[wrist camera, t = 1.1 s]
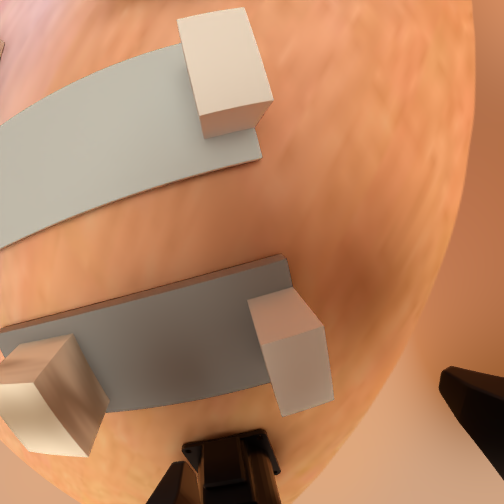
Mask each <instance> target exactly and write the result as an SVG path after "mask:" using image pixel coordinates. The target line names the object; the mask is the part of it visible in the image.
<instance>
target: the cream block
mask: <svg viewBox="0 0 504 504" xmlns="http://www.w3.org/2000/svg"><path fill="white" fill-rule="evenodd" d="M109 402H110V400H109V398H108V397H107V395H106V393H105V392H104V390H103V388H102V387H101V385H100V383H99V382H98V380H97V378H96V377H95V375H94V373H93V371H92V369H91V368H90V366H89V364H88V362H87V360H86V358H85V357H84V355H83V353H82V351H81V349H80V347H79V345H78V343H77V341H76V339H75V337H74V335H73V333H72V334H68V335H63V336H58V337H53V338H48V339H43V340H38V341H33V342H28V343H23V344H19V345H18V346H17V347H16V348H15V349H14V350H13V351H12V352H11V353H10V354H9V355H8V356H7V357H6V358H5V359H4V360H3V361H2V362H1V363H0V416H1V417H2V419H3V420H4V421H5V423H6V424H7V425H8V427H9V428H10V429H11V431H12V432H13V433H14V434H15V436H16V437H17V438H18V439H19V440H20V442H21V443H22V444H23V445H24V446H25V448H26V449H27V450H28V451H29V452H36V453H44V454H52V455H63V456H76V457H89V454H90V452H91V449H92V446H93V443H94V441H95V438H96V435H97V433H98V430H99V427H100V425H101V422H102V419H103V417H104V414H105V412H106V409H107V407H108V404H109Z"/></svg>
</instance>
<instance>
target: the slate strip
mask: <svg viewBox="0 0 504 504" xmlns="http://www.w3.org/2000/svg"><path fill="white" fill-rule="evenodd" d="M177 24H178V29H179V34H180V39H181V43H179V44H176V45H172V46H168V47H165V48H161V49H158V50H155V51H151V52H148V53H145V54H142V55H139V56H136V57H133V58H130V59H128V60H125V61H122V62H120V63H117V64H114V65H112V66H109V67H107V68H104V69H102V70H100V71H97V72H95V73H93V74H91V75H88V76H86V77H84V78H82V79H80V80H78V81H75V82H73V83H71V84H69V85H67V86H65V87H63V88H61V89H60V90H58V91H56V92H54V93H52V94H50V95H48V96H47V97H45V98H43V99H41V100H40V101H38V102H36V103H35V104H33V105H31V106H30V107H28V108H26V109H25V110H23V111H22V112H20V113H18V114H17V115H15V116H14V117H12V118H11V119H9V120H8V121H6V122H5V123H4V124H2V125H1V126H0V250H1V249H3V248H5V247H7V246H9V245H11V244H13V243H16V242H18V241H20V240H22V239H24V238H26V237H28V236H31V235H33V234H35V233H37V232H40V231H42V230H44V229H47V228H49V227H51V226H54V225H56V224H58V223H61V222H63V221H66V220H68V219H71V218H73V217H76V216H78V215H81V214H83V213H86V212H89V211H91V210H94V209H97V208H99V207H102V206H105V205H107V204H110V203H113V202H116V201H119V200H122V199H124V198H127V197H130V196H133V195H136V194H139V193H142V192H145V191H148V190H151V189H155V188H158V187H161V186H164V185H167V184H171V183H174V182H177V181H181V180H184V179H188V178H191V177H195V176H198V175H202V174H205V173H209V172H213V171H217V170H220V169H224V168H228V167H232V166H236V165H240V164H244V163H248V162H253V161H257V160H260V159H261V158H262V154H261V150H260V146H259V142H258V138H257V134H256V131H255V126H256V125H257V123H258V122H259V120H260V119H261V118H262V116H263V115H264V113H265V112H266V110H267V109H268V107H269V106H270V105H271V103H272V102H273V100H274V99H273V96H272V92H271V89H270V85H269V82H268V79H267V75H266V72H265V69H264V65H263V62H262V59H261V56H260V53H259V50H258V47H257V43H256V40H255V37H254V34H253V31H252V28H251V25H250V23H249V20H248V17H247V14H246V11H245V8H244V7H242V8H234V9H227V10H221V11H215V12H209V13H204V14H199V15H194V16H190V17H186V18H181V19H177Z"/></svg>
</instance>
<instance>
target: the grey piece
mask: <svg viewBox="0 0 504 504" xmlns="http://www.w3.org/2000/svg"><path fill="white" fill-rule="evenodd" d="M72 333H73V335H74V337H75V339H76V341H77V343H78V345H79V347H80V349H81V351H82V353H83V355H84V357H85V358H86V360H87V362H88V364H89V366H90V368H91V369H92V371H93V373H94V375H95V377H96V378H97V380H98V382H99V383H100V385H101V387H102V388H103V390H104V392H105V393H106V395H107V397H108V398H109V400H110V402H109V404H108V407H107V409H106V412H105V413H109V412H120V411H129V410H138V409H146V408H153V407H160V406H166V405H173V404H178V403H184V402H190V401H195V400H200V399H205V398H210V397H214V396H219V395H223V394H228V393H232V392H236V391H240V390H244V389H248V388H252V387H256V386H259V385H263V384H267V383H270V382H271V384H272V387H273V390H274V393H275V397H276V400H277V403H278V406H279V409H280V412H281V416H282V417H284V416H288V415H291V414H294V413H297V412H301V411H304V410H307V409H310V408H313V407H316V406H319V405H322V404H324V403H327V402H330V401H333V400H334V393H333V385H332V377H331V370H330V363H329V356H328V349H327V342H326V336H325V329H324V325H323V324H322V323H321V321H320V320H319V319H318V318H317V316H316V315H315V314H314V313H313V311H312V310H311V309H310V308H309V306H308V305H307V304H306V302H305V301H304V300H303V299H302V297H301V296H300V295H299V294H298V292H297V291H296V290H295V289H294V287H293V285H292V280H291V275H290V271H289V266H288V262H287V259H286V258H285V257H284V256H283V255H282V254H278V255H275V256H271V257H267V258H264V259H260V260H257V261H253V262H249V263H246V264H242V265H239V266H235V267H231V268H228V269H224V270H220V271H217V272H213V273H209V274H206V275H202V276H198V277H195V278H191V279H187V280H184V281H180V282H176V283H173V284H169V285H165V286H161V287H158V288H154V289H150V290H146V291H143V292H139V293H135V294H131V295H128V296H124V297H120V298H116V299H113V300H109V301H105V302H101V303H97V304H94V305H90V306H86V307H82V308H78V309H74V310H70V311H67V312H63V313H59V314H55V315H51V316H47V317H43V318H39V319H35V320H32V321H28V322H24V323H20V324H16V325H12V326H8V327H4V328H1V329H0V350H1V351H2V353H3V355H4V357H5V358H6V357H7V356H8V355H9V354H10V353H11V352H12V351H13V350H14V349H15V348H16V347H17V346H18V345H19V344H23V343H28V342H33V341H38V340H43V339H48V338H53V337H58V336H63V335H68V334H72Z"/></svg>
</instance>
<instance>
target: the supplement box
mask: <svg viewBox="0 0 504 504" xmlns="http://www.w3.org/2000/svg"><path fill="white" fill-rule="evenodd" d="M3 48H4V42H3V41H2V40H0V58H1V54H2V51H3Z"/></svg>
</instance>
